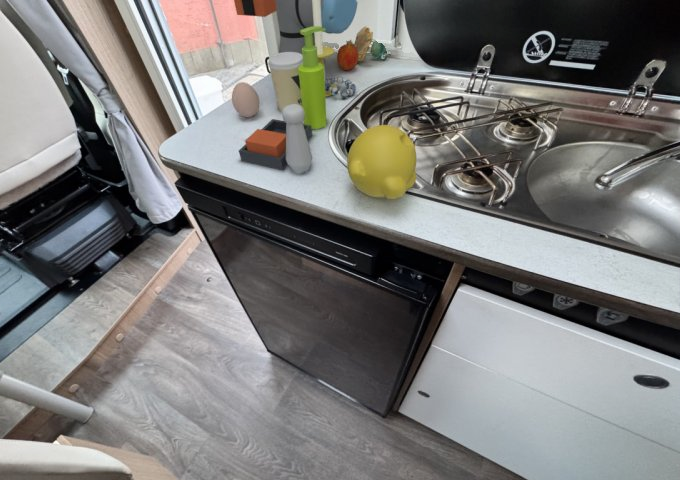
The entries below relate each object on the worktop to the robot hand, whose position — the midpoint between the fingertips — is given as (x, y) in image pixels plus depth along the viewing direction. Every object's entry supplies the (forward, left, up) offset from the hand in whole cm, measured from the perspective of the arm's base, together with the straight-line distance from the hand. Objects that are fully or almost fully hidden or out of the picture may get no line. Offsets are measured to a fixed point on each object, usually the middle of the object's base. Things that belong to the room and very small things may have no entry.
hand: (256, 11), depth 72 cm
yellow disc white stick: (-10, +11, -20) cm, 25 cm away
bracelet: (-10, +17, -20) cm, 28 cm away
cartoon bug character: (-34, +13, -15) cm, 39 cm away
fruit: (-27, +13, -20) cm, 37 cm away
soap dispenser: (+9, +19, -21) cm, 29 cm away
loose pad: (0, 0, 0) cm, 0 cm away
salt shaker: (+28, +23, -21) cm, 42 cm away
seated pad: (+27, +15, -20) cm, 36 cm away
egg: (+11, -1, -21) cm, 23 cm away
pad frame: (+23, +15, -20) cm, 34 cm away
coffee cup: (+3, +8, -21) cm, 22 cm away
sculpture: (+32, +47, -19) cm, 60 cm away
